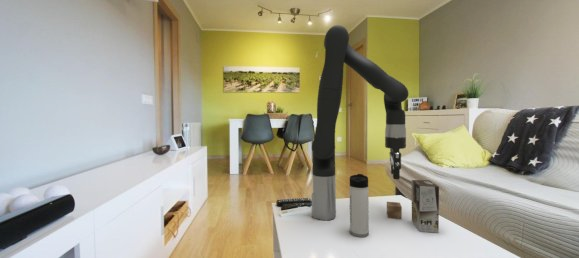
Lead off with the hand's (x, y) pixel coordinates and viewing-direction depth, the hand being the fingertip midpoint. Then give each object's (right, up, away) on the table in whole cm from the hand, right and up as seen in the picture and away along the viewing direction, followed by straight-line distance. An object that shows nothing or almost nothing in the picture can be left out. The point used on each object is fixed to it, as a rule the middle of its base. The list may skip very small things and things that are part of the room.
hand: (395, 176), depth 94 cm
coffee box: (+7, -17, -8) cm, 20 cm away
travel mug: (-18, -17, -12) cm, 28 cm away
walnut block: (0, -16, +1) cm, 16 cm away
